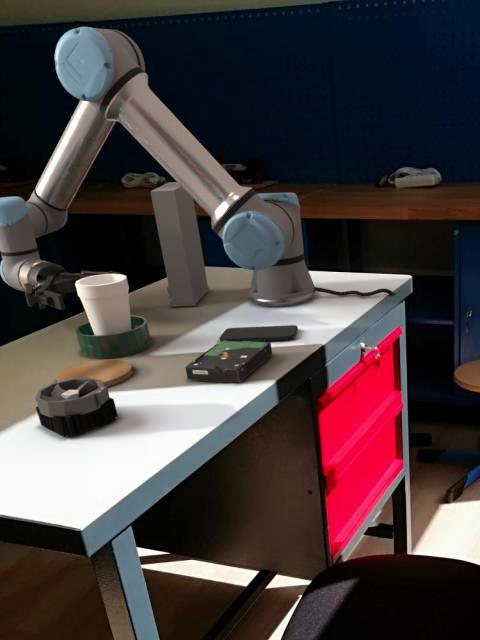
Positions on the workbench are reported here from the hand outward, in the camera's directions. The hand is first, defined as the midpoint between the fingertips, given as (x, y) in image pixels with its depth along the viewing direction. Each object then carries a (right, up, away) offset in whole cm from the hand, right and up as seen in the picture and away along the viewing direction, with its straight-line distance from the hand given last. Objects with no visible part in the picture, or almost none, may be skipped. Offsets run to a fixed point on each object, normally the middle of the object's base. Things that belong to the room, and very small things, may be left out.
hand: (94, 294), depth 149 cm
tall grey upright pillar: (+11, +8, +32) cm, 35 cm away
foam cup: (+4, -10, +3) cm, 11 cm away
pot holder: (+5, -18, -12) cm, 22 cm away
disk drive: (+29, -17, -11) cm, 35 cm away
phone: (+32, -7, +4) cm, 33 cm away
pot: (+4, -10, +3) cm, 11 cm away
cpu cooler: (+9, -29, -29) cm, 42 cm away
